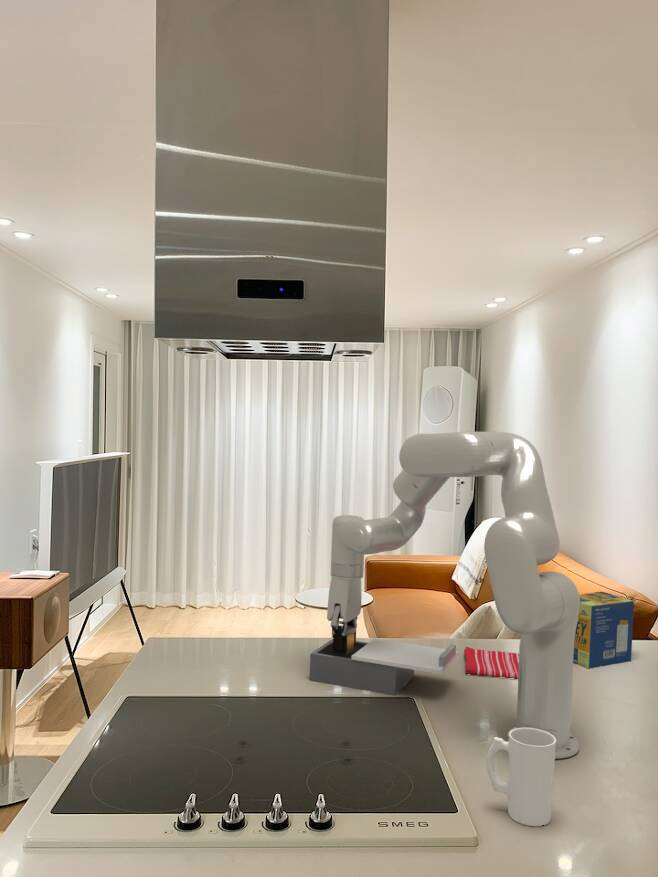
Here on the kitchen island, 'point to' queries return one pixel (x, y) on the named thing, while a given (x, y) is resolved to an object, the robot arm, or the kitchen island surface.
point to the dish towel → (491, 663)
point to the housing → (356, 671)
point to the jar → (350, 638)
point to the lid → (407, 655)
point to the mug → (526, 774)
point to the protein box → (603, 630)
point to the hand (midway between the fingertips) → (344, 648)
